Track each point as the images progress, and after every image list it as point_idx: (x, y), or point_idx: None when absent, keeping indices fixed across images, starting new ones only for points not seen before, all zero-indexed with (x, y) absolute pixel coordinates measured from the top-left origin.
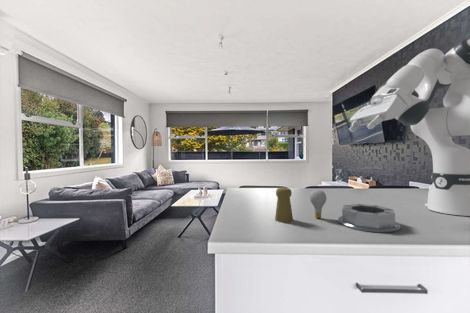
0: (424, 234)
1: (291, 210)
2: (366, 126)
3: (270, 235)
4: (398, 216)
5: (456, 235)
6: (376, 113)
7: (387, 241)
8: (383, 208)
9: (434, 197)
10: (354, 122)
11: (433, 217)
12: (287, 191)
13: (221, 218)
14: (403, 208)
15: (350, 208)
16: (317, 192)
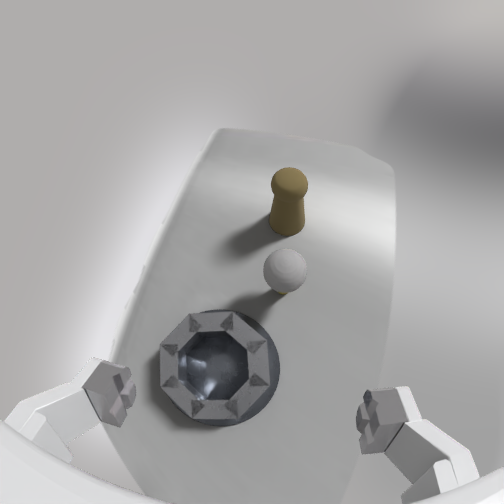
0: (139, 409)
1: (278, 219)
2: (126, 367)
3: (215, 180)
4: (248, 474)
5: (125, 449)
6: (14, 431)
7: (135, 323)
8: (206, 406)
9: None
10: (439, 461)
11: None
12: (272, 182)
13: (314, 139)
14: None
15: (229, 332)
16: (273, 256)
